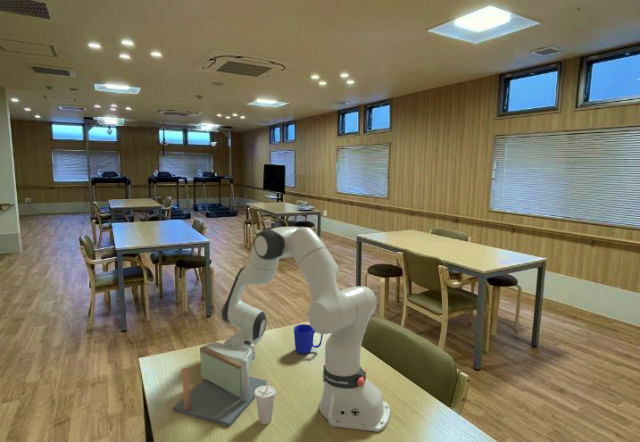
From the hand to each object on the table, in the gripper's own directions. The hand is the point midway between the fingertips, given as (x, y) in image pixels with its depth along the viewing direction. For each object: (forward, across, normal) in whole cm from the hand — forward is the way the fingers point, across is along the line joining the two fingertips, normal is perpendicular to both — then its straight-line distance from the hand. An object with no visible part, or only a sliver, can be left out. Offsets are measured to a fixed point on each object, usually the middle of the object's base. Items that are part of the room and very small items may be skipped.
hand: (213, 365), depth 135 cm
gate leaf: (+3, +5, +5) cm, 8 cm away
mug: (-35, +22, +7) cm, 42 cm away
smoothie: (+10, +27, +7) cm, 29 cm away
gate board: (+5, +8, +7) cm, 11 cm away
